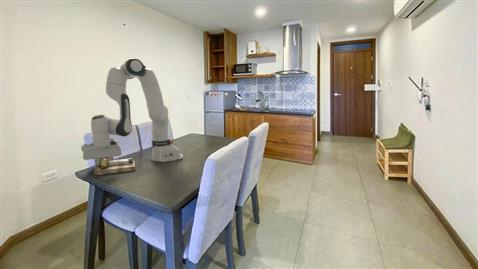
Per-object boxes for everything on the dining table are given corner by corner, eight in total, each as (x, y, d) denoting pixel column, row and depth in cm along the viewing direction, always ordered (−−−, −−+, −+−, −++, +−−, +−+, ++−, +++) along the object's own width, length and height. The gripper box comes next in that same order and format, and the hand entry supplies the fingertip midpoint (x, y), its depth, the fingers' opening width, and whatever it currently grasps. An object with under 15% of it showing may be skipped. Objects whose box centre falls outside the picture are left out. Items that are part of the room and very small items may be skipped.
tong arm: (128, 162, 153) (128, 159, 153) (128, 163, 151) (128, 160, 151) (98, 165, 146) (98, 162, 146) (98, 166, 144) (97, 163, 144)
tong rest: (134, 164, 159) (134, 160, 158) (135, 170, 147) (134, 166, 147) (97, 168, 150) (96, 164, 150) (94, 175, 138) (93, 171, 138)
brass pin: (108, 169, 146) (107, 158, 144) (105, 171, 142) (104, 160, 141) (103, 169, 146) (102, 158, 144) (100, 170, 143) (99, 159, 141)
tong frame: (133, 161, 156) (132, 157, 156) (133, 163, 153) (132, 158, 153) (98, 165, 148) (98, 160, 148) (98, 166, 145) (97, 162, 145)
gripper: (80, 145, 133) (83, 168, 136) (120, 141, 143) (122, 163, 146) (81, 143, 138) (83, 165, 141) (119, 139, 148) (121, 160, 151)
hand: (103, 164), depth 143 cm, fingers open, 3 cm apart
